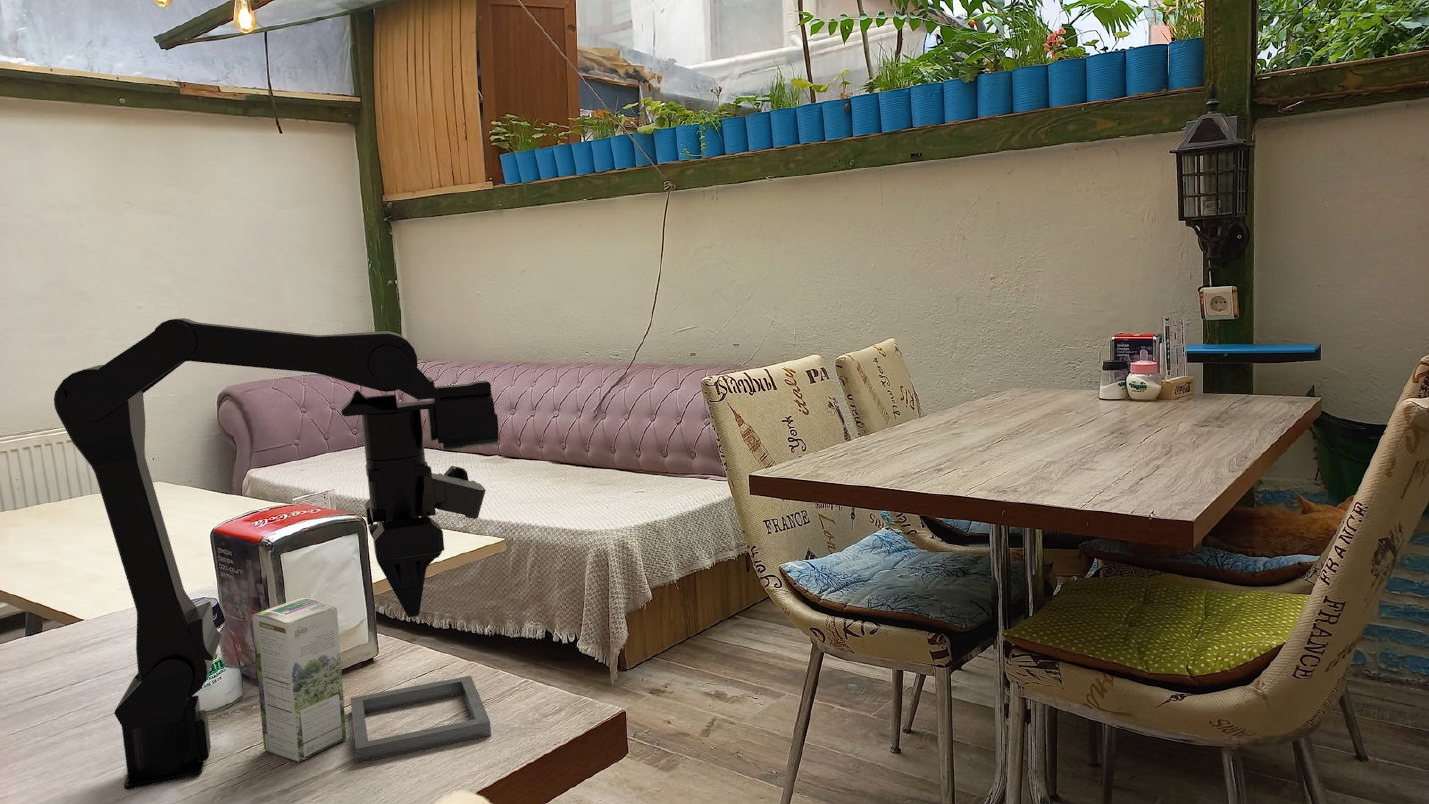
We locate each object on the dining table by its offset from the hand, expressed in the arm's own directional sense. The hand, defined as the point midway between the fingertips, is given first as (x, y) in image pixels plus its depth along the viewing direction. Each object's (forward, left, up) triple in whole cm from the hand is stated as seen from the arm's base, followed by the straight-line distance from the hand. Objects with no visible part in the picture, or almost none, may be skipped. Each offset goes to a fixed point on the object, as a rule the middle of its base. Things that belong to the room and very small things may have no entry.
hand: (409, 602), depth 101 cm
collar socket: (0, 0, -13) cm, 13 cm away
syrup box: (-11, 0, -13) cm, 17 cm away
